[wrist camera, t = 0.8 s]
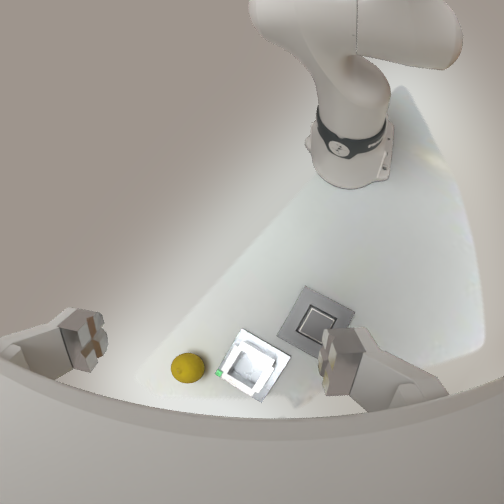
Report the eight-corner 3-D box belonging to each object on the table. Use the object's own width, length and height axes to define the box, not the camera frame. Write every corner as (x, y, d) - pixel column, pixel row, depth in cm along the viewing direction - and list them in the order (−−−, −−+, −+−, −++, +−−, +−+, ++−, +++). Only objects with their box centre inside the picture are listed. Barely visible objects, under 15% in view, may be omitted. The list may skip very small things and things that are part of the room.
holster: (305, 286, 49) (304, 283, 45) (354, 312, 46) (357, 311, 42) (277, 335, 48) (274, 336, 44) (326, 362, 45) (327, 366, 41)
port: (242, 328, 49) (236, 328, 45) (291, 356, 46) (288, 359, 42) (216, 372, 48) (207, 377, 44) (262, 401, 45) (257, 408, 41)
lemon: (178, 360, 50) (158, 364, 43) (200, 346, 50) (181, 349, 43) (193, 383, 49) (174, 392, 41) (216, 370, 48) (199, 377, 41)
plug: (312, 310, 47) (311, 307, 35) (330, 320, 45) (335, 320, 34) (301, 328, 46) (298, 331, 35) (320, 338, 45) (322, 344, 34)
